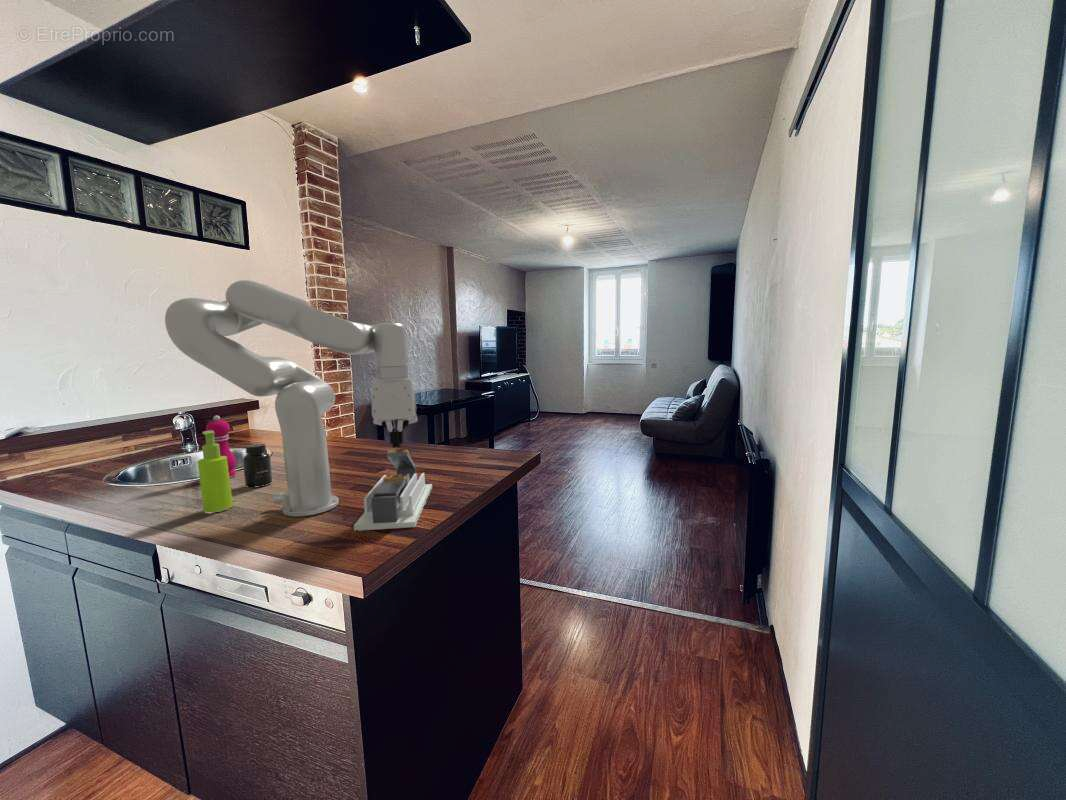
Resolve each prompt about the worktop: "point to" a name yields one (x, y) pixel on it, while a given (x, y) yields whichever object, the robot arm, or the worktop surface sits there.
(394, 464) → the grey green rectangular plate
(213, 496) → the soap dispenser
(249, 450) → the supplement bottle
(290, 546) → the worktop surface
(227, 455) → the pepper mill
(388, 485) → the grey flat block
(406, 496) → the heatsink board
